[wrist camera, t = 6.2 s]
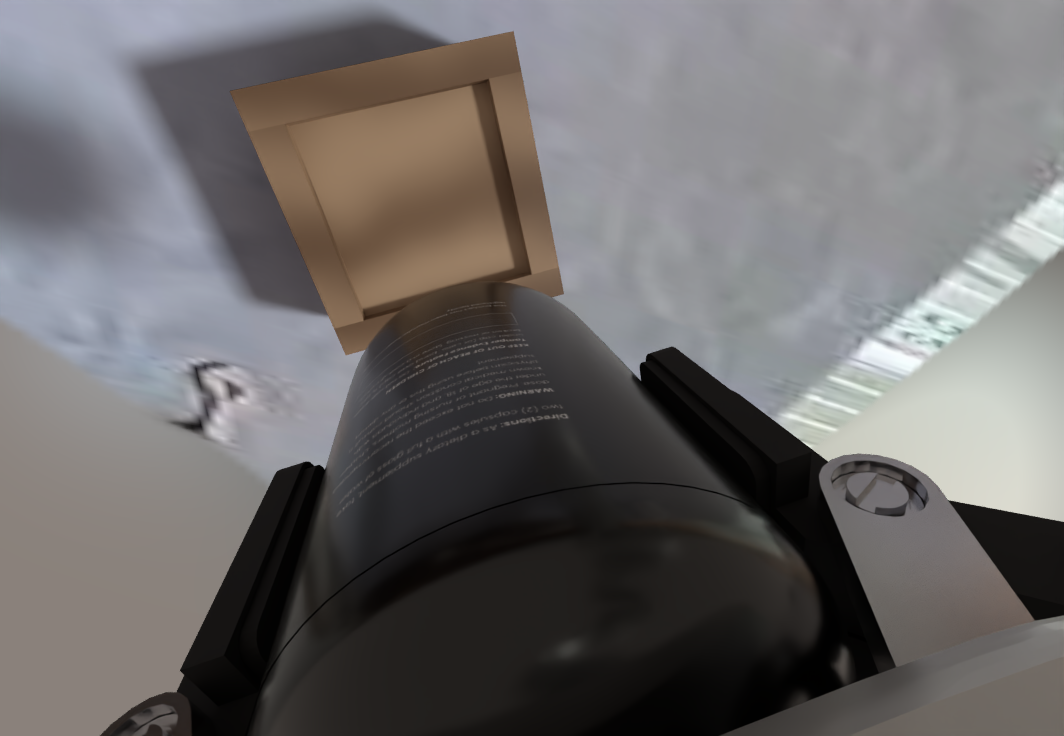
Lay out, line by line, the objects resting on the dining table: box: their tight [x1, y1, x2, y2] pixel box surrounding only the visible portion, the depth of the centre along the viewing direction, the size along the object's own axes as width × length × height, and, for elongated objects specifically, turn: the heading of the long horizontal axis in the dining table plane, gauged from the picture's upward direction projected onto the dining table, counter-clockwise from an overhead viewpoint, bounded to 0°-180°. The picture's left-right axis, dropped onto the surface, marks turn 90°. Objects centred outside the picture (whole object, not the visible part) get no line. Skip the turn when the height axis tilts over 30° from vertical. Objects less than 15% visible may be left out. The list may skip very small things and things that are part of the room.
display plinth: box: [230, 31, 564, 355], centre depth 24 cm, size 12×12×6 cm
